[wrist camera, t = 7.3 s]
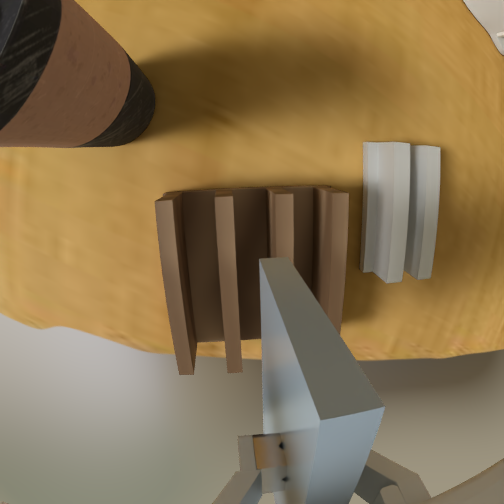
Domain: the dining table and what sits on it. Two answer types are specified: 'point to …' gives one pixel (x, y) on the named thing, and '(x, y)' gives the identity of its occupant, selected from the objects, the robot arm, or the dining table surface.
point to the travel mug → (66, 80)
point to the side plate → (312, 392)
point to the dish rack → (245, 259)
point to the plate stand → (399, 209)
